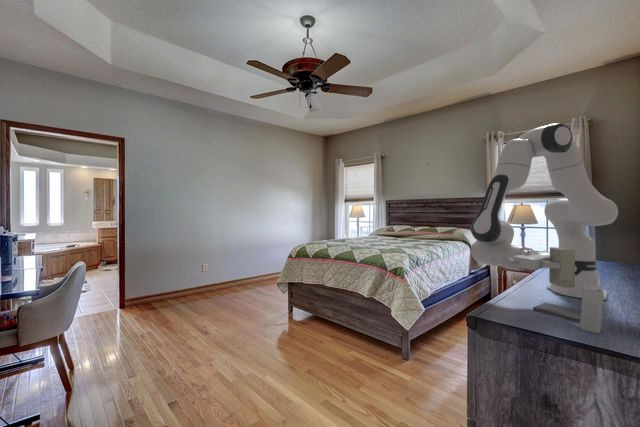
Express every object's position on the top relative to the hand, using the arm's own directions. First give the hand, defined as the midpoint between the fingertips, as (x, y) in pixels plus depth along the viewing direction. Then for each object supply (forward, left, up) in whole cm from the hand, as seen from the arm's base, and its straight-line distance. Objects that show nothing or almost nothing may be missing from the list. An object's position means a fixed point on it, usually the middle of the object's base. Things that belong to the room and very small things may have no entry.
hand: (565, 264), depth 96 cm
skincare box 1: (0, -1, -7) cm, 7 cm away
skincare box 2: (+8, +9, -16) cm, 20 cm away
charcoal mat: (0, -1, -16) cm, 16 cm away
